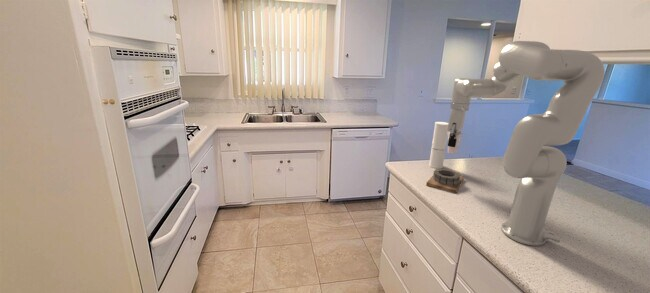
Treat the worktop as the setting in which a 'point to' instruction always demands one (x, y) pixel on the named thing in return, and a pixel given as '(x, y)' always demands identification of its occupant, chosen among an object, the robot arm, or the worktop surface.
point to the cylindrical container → (438, 145)
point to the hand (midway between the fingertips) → (453, 144)
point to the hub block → (445, 180)
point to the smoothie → (454, 149)
